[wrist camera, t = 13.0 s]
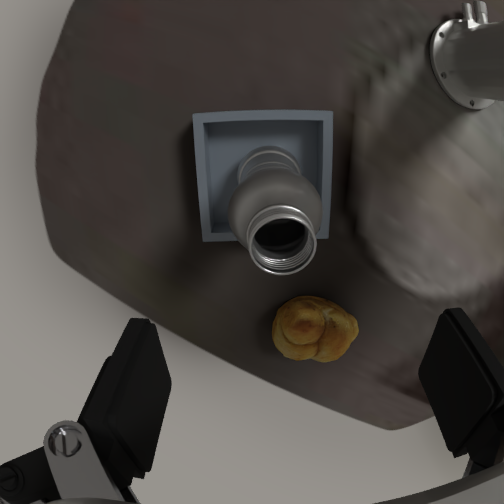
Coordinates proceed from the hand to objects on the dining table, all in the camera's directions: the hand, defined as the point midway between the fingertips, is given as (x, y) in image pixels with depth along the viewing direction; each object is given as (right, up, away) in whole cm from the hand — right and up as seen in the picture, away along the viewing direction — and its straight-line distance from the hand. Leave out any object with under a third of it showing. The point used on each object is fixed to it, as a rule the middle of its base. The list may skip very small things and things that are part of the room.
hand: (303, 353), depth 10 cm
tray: (0, +13, +26) cm, 29 cm away
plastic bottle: (0, +12, +26) cm, 28 cm away
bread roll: (+7, -6, +36) cm, 37 cm away
